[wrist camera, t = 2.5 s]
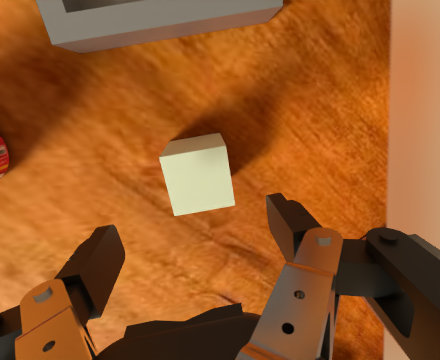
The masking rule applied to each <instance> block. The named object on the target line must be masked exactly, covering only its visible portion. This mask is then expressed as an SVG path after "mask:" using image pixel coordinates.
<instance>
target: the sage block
mask: <svg viewBox="0 0 440 360" xmlns="http://www.w3.org/2000/svg"><path fill="white" fill-rule="evenodd" d="M159 159H160V163H161V166H162V170H163V174H164V178H165V182H166V185H167V189H168V193H169V197H170V201H171V204H172V208H173V212H174V216H178V215H184V214H189V213H195V212H200V211H206V210H211V209H217V208H222V207H228V206H234V205H235V202H234V195H233V189H232V182H231V175H230V169H229V162H228V156H227V149H226V145H225V143H224V141H223V138H222V136H221V134H220V133H215V134H209V135H203V136H198V137H192V138H186V139H181V140H175V141H169V143H168V144H167V146H166V147H165V149H164V151H163V152H162V154H161V155H160V157H159Z"/></svg>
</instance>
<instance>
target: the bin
mask: <svg viewBox="0 0 440 360" xmlns="http://www.w3.org/2000/svg"><path fill="white" fill-rule="evenodd" d="M36 2H37V5H38V8H39V11H40V13H41V16H42V19H43V21H44V24H45V27H46V30H47V32H48V35H49V38H50V40H51V43H52V45H55V46H58V47H61V48H64V49H67V50H70V51H73V52H77V53H80V54H82V53H87V52H93V51H99V50H105V49H111V48H117V47H123V46H129V45H135V44H141V43H147V42H153V41H159V40H165V39H171V38H177V37H183V36H189V35H195V34H200V33H206V32H212V31H218V30H224V29H230V28H236V27H242V26H248V25H254V24H260V23H266V22H268V21H269V20H270V19H271V18H272V17H273V16H274V15H275V14H276V13H277V12H278V11H279V10H280V9H281V8H282V7H283V0H36Z"/></svg>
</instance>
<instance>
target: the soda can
mask: <svg viewBox="0 0 440 360" xmlns="http://www.w3.org/2000/svg"><path fill="white" fill-rule="evenodd" d="M8 165H9V154H8V150H7V147H6V145H5V143H4V141H3V139H2V138H1V136H0V178H1V177H2V176H3V175H4V174H5V172H6V171H7V168H8Z"/></svg>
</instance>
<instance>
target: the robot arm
mask: <svg viewBox="0 0 440 360" xmlns="http://www.w3.org/2000/svg"><path fill="white" fill-rule="evenodd" d="M266 205H267V215H268V224H269V228H270V231H271V233H272V235H273V237H274V239H275V241H276V243H277V244H278V246H279V248H280V250H281V252H282V254H283V256H284V258H285V260H286V263H285V265H284V267H283V270H282V272H281V274H280V276H279V278H278V280H277V283H276V285H275V287H274V289H273V291H272V293H271V296H270V298H269V300H268V302H267V304H266V306H265V309H264V311H263V313H262V315H258V314H254V313H248V312H243V311H242V306H241V303H238V304H233V305H228V306H223V307H218V308H213V309H211V310H209V311H206V312H204V313H202V314H200V315H198V316H195V317H193V318H191V319H189V320H186V321H158V320H155V321H150V322H145V323H140V324H135V325H130V326H127V328H126V331H125V334H124V338H121V339H119V340H118V341H116V342H114V343H112V344H111V345H110V346H108V347H107V348H105V349H104V350H103V351H101V352H100V353H98V351H97V348H96V346H95V343H94V341H93V339H92V336H91V334H90V332H89V329H88V327H87V326H86V324H87V322H88V320H89V319H94V318H99V317H101V315H102V313H103V311H104V308H105V306H106V304H107V301H108V299H109V296H110V294H111V292H112V289H113V287H114V285H115V282H116V280H117V277H118V275H119V273H120V270H121V268H122V265H123V263H124V260H125V250H124V247H123V245H122V242H121V239H120V237H119V234H118V232H117V229H116V227H115V226H114V225H107V226H102V227H97V228H96V229H95V231H94V232H93V233H92V235H91V236H90V238H89V239H87V240H86V241H84V242H83V243H82V244H81V245H79V246H78V248H77V249H76V250H75V252H74V253H73V255H72V256H71V257H70V258H69V261H67V262H66V264H65V265H64V266H63V268H62V269H61V270H60V272H59V273H58V274H57V276H56V277H55V278H54V279H53V280H49V281H46V282H44V283H42V284H40V285H38V286H36V287H35V288H33V289H32V290H31V291H29V292H28V293H27V294H26V295H25V296H24V298H23V299H22V300H21V303H20V305H18V306H16V307H14V308H11V309H9V310H6V311H4V312H1V313H0V360H332V354H333V344H334V335H335V328H336V322H337V316H338V310H339V304H340V298H341V295H349V296H361V297H362V299H363V300H364V301H365V303H366V304H367V305H368V307H369V308H370V309H371V310H372V312H373V313H374V314H375V316H376V317H377V318H378V319H379V321H380V322H381V323H382V324H383V326H384V327H385V328H386V330H387V331H388V332H389V333H390V335H391V336H392V337H393V338H394V340H395V341H396V342H397V344H398V345H399V346H400V347H401V349H402V350H403V351H404V352H405V354H406V355H407V356H408V357H409V359H410V360H440V250H439V249H438V248H436V247H434V246H433V245H431V244H430V243H428V242H427V241H425V240H424V239H422V238H421V237H419V236H418V235H416V234H413V235H407V234H405V233H403V232H401V231H397V230H394V229H389V228H374V229H371V230H369V231H368V232H367V234H366V237H364V238H362V239H361V240H360V239H343V237H342V236H341V235H340V234H339V233H338V232H337V231H335V230H333V229H329V228H323V227H322V226H321V225H320V224H319V223H318V222H317V221H316V220H315V219H314V218H313V217H312V215H311V214H309V212H308V211H307V210H305V208H304V207H303V206H302V205H301V204H300V203H298V202H296V201H294V200H288V201H287V200H286V199H285V197H284V196H283V195H282V194H281V193H276V194H271V195H266Z"/></svg>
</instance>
